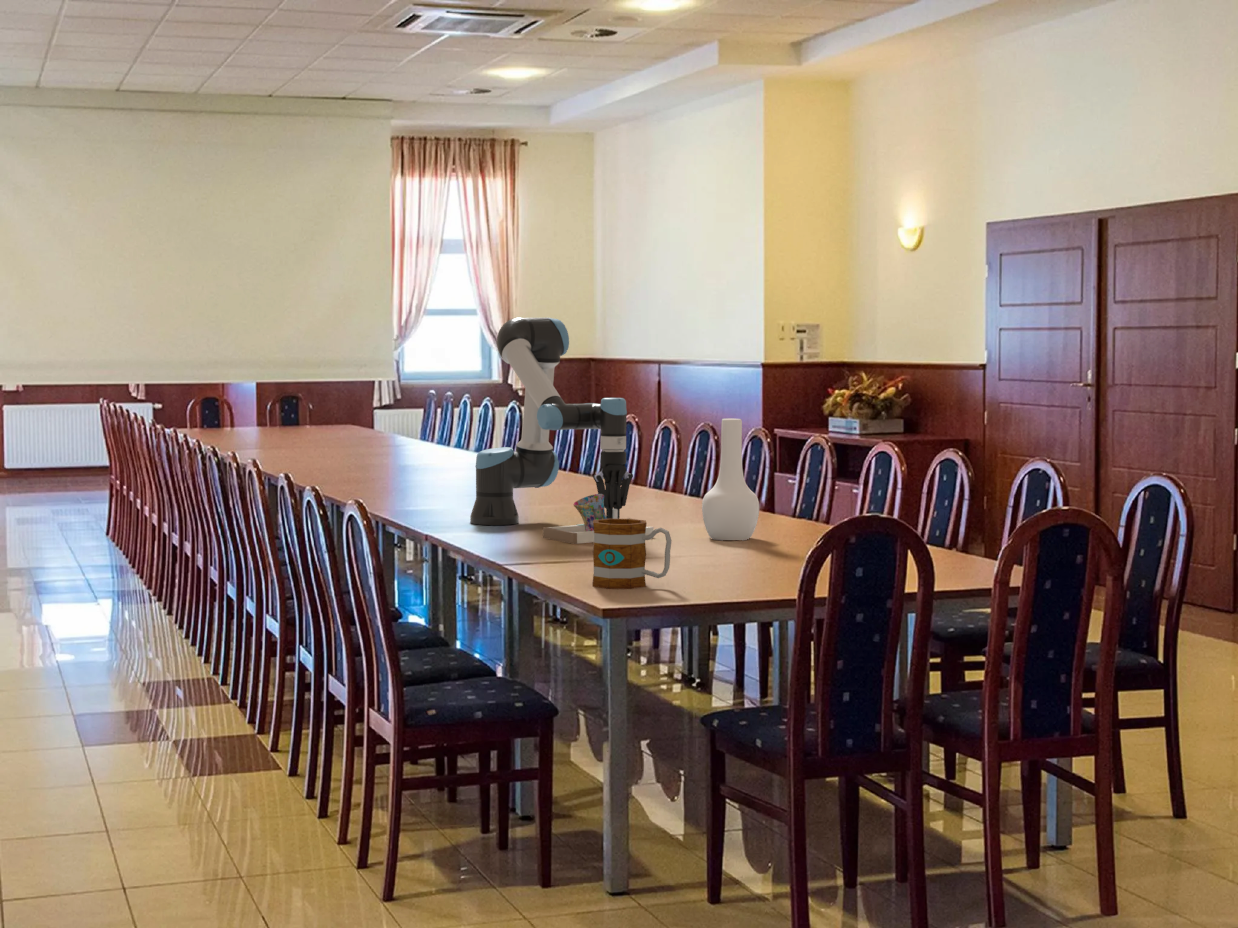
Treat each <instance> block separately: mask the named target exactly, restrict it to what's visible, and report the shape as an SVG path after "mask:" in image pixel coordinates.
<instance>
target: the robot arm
mask: <svg viewBox="0 0 1238 928" xmlns="http://www.w3.org/2000/svg"><path fill="white" fill-rule="evenodd" d="M569 345H570V336H569V332H568V328H567V327H566V325H565V324H564V322H563V321H562V320H560V319H558V318H552V317H523V316H522V317H519V316H518V317H514V318H511V319H509V320H507V321H506V322H505V323H504V324H502V325H501V327H500V329H499V330H498V332H497V336H496V347H497V352H498V354H499V355H500V357H501V359H502V360H503V362H504V363H506V364H507V365H510V367H511V368H512V370H513V372H514V374H516V376H517V377H518V379H519V380H520V382H521V384H522V385H523V386H524V388H525V389H524V403H523V404H524V405H523V418H522V430H521V439H520V441H518V442H517V443H516V445H515V446H516V447H515V450H514V449H513V448H512V447H509V446H505V447H495V448H494V447H493V448H488V449H483V450H480V451H479V452H477V455H476V460H475V500H474V504H473V507H472V510H471V512H470V516H469V517H470V524H472V525H480V526H481V525H482V526H483V525H484V526H506V525H507V526H509V525H516V524H519V522H520V521H519V520H520V519H519V518H520V517H519V513H518V510H517V507H516V503H515V500H514V489H525V488H527V489H528V488H532V489H533V488H535V489H537V488H538V489H540V488H543V487H544V488H545V487H549V486H551V485H552V483H554V482H555V480H556V478H557V476H558V474H559V469H560V460H559V457H558V454H557V453H556V452H555V451H554V447H553V445H552V444H551V443H550V442H549V441H550V440H549V439H550V431H564V430H565V431H566V430H600V445H599V446H600V447H599V449H600V450H602V451H600V465H601V466H600V469H599V472H598V473H597V474H594V475H593V476H592V478H593V480H594V482H595V485H596V490H597V494H603V495H604V509H605V514H606V517H607V519H621V518H620V511H621V509H622V508H623V507H625V506H626V504H627V499H628V494H629V490H630V484H631V481H632V479H633V477H634V474H633V473H629V472H628V470H627V468H626V464H627V452H626V449H627V420H628V418H627V416H628V415H627V413H628V411H627V400H626V399H625V398H624V397H603V398H602V399H601V400H600V403H595V402H587V403H566V402H565V401H564V400H563V398H562V397H561V395H560V394H559V392H558V391H557V389H556V388H555V386H554V381H555V380H554V379H555V378H554V377H555V368H556V367H557V366H558V365H559V364H560V361H561V357H563V356H564V355H566V354H567V352H568V350H569V348H570V347H569Z"/></svg>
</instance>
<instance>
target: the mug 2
mask: <svg viewBox="0 0 1238 928" xmlns="http://www.w3.org/2000/svg"><path fill="white" fill-rule="evenodd" d="M647 524H648V523H647V521H646V520H645V519H636V518H619V519H600V520H593V526H594V542H593V547H592V548H593V549H592V558H593V573H592V574H593V575H592V587H594V588H601V589H607V590H633V589H640V588H646V587H647V586H646V584H647V583H646V576H649V577H653V578H656V579H660V578H661V579H662V578H663V577H666V576H667V573H668V572H669V570H670V565H671V564H670V563H671V548H672V542H673V541H672V537H671V534H670V531H668V530H667V529H665V528H662V527H658V528H656V529H654V530H653V531H652V532H651V533H650V534H649V535H645V532H646V527H647ZM659 533H662V534H664V536H665V537H664V538H665V541H666V542H665V548H664V564H663V565H664V566H663V570H662V572H661V573H658V572H655V571H652V570H648V569H646V562H647V561H646V559H647V558H646V557H647V548H646V541H650V540H652V539H654V537H655V536H656V535H657V534H659ZM645 575H646V576H645Z"/></svg>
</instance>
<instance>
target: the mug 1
mask: <svg viewBox="0 0 1238 928" xmlns="http://www.w3.org/2000/svg"><path fill="white" fill-rule="evenodd" d="M573 507H574V508H575V509H576V510H577V512H578V513H579V515H580V517H581V519H582V521H583V524H584V525H585V532H587V531H594V526H593V520H600V519H607V517H606V510H605V508H604V495H603V494H598V493H595V494H590V495H587V496H584V497H582V498H579V499H578V500H576V501H575V502H574V503H573Z"/></svg>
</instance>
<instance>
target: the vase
mask: <svg viewBox="0 0 1238 928" xmlns="http://www.w3.org/2000/svg"><path fill="white" fill-rule="evenodd" d="M742 421H743V420H742V419H741V418H722V419H721V429H720V430H721V432H720V434H721V435H720V436H721V437H720V438H721V439H720V441H721V442H720V443H721V445H720V462H719V463H720V465H719V472H718V476H717V480H716V482H715V484H714V485H713V486H712V487H711V489H710V490H708V491H707V492H706V493H705V494H704V496H703V499H702V502H701V512H702V518H703V519H702V520H703V523H704V527H705V530H706V532H707V534H708V536H709V538H710V539H711V538H712V539H711V540H715V541H723V540H742V541H747V539H748V540H750V539H751V538H752V536H753V534H754V532H755V530H756V527H757V524H758V520H759V515H760V502H759V498H758V496H757V494H756V493H755V492H754V491H752V490H751V489H750V487H749V486H748V485H747V482H746V480H745V477H744V469H743V458H742V457H743V455H742V453H743V451H742V449H743V447H742V445H743V443H742V442H743V441H742V439H743V435H742V434H743V422H742ZM749 538H750V539H749Z"/></svg>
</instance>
